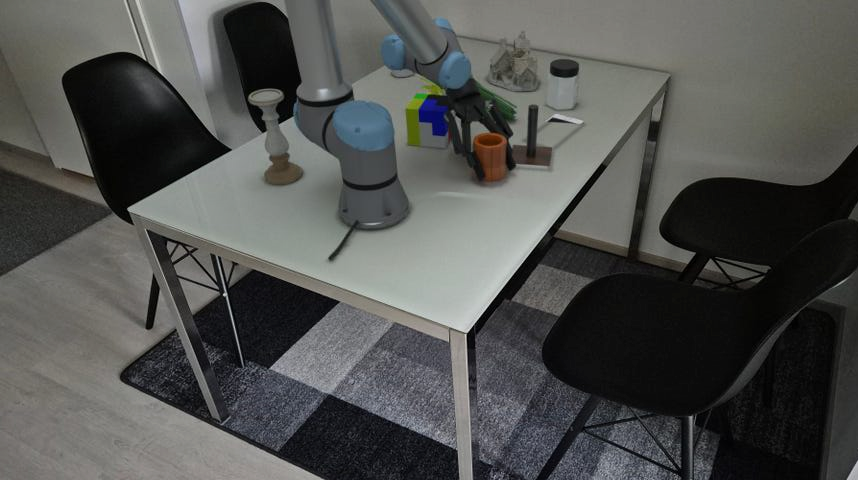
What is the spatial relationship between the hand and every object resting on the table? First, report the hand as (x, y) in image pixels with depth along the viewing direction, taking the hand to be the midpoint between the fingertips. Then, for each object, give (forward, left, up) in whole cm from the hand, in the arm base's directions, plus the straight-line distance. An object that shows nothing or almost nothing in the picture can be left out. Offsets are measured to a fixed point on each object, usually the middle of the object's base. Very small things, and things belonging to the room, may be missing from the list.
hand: (497, 173), depth 146 cm
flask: (+65, +39, -3) cm, 76 cm away
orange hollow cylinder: (+3, +2, -3) cm, 5 cm away
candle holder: (-4, +51, -3) cm, 52 cm away
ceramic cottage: (+63, +3, -3) cm, 64 cm away
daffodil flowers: (+41, +13, -3) cm, 43 cm away
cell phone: (+29, -12, -3) cm, 32 cm away
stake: (+13, -7, -3) cm, 15 cm away
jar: (+48, -13, -3) cm, 50 cm away
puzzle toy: (+21, +20, -3) cm, 30 cm away
